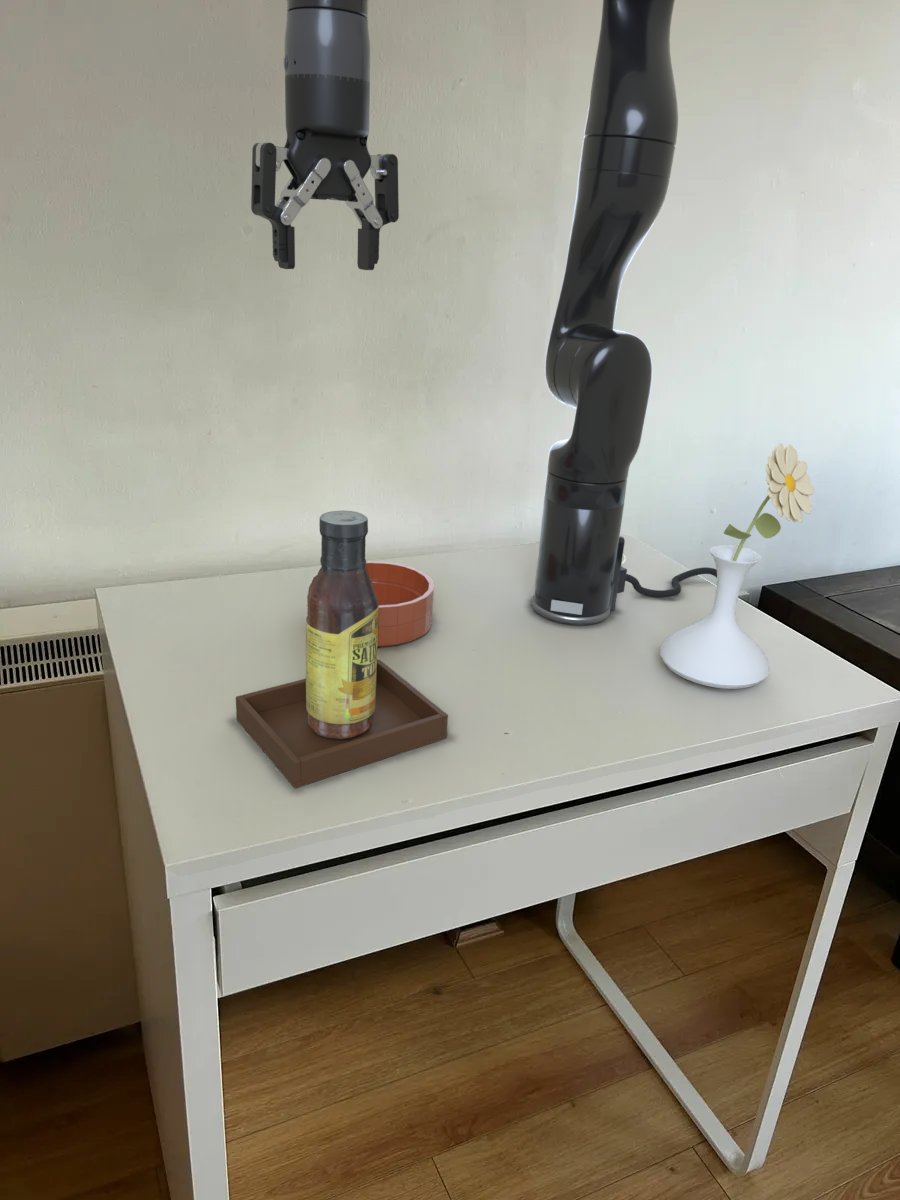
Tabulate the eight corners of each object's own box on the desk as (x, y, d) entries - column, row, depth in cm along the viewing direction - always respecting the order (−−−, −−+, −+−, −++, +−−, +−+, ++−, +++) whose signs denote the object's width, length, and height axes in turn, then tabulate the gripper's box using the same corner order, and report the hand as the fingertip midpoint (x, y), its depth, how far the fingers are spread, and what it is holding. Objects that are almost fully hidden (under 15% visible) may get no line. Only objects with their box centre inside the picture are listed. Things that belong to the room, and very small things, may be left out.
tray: (378, 680, 91) (379, 658, 90) (446, 738, 82) (448, 714, 81) (236, 719, 83) (235, 696, 82) (294, 788, 74) (294, 763, 73)
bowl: (393, 591, 112) (394, 554, 110) (454, 633, 102) (456, 593, 100) (296, 612, 105) (295, 573, 103) (351, 659, 95) (352, 616, 93)
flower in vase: (699, 706, 90) (747, 463, 80) (637, 655, 100) (673, 432, 89) (802, 688, 95) (859, 457, 85) (733, 641, 104) (777, 428, 94)
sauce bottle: (363, 748, 79) (368, 535, 71) (296, 737, 80) (292, 525, 72) (383, 711, 85) (389, 510, 77) (320, 701, 86) (319, 502, 78)
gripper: (271, 62, 73) (275, 272, 80) (417, 82, 81) (410, 273, 88) (235, 68, 79) (242, 265, 86) (375, 87, 87) (372, 266, 93)
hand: (327, 269), depth 87 cm, fingers open, 8 cm apart
